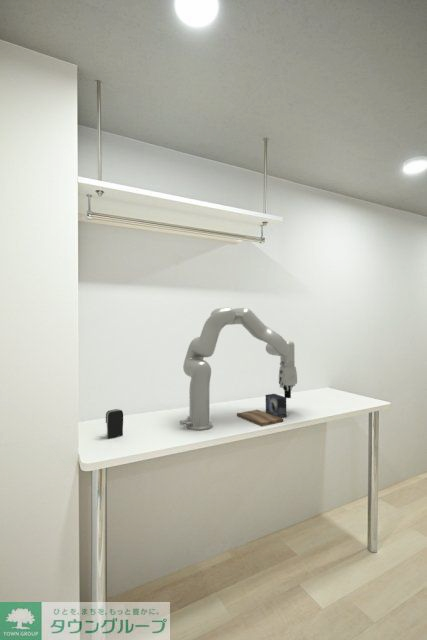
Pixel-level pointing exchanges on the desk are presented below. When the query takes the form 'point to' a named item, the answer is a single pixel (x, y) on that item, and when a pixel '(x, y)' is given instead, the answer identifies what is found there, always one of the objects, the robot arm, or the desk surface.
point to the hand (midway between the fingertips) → (287, 397)
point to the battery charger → (114, 423)
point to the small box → (276, 405)
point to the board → (260, 417)
